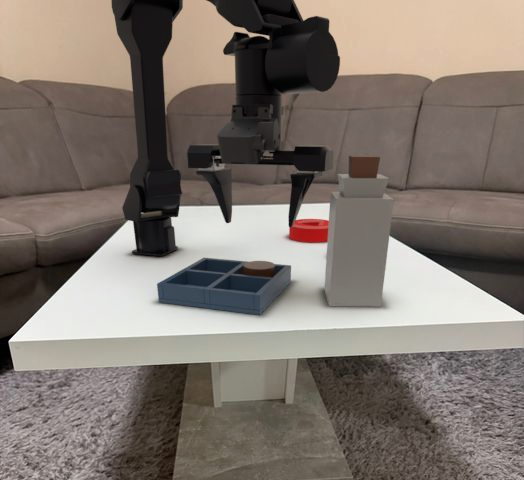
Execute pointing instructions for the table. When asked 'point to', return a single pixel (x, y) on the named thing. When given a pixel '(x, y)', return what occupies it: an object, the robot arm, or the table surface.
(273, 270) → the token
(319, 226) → the red ring
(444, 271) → the table surface
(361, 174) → the perfume bottle
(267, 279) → the holder
